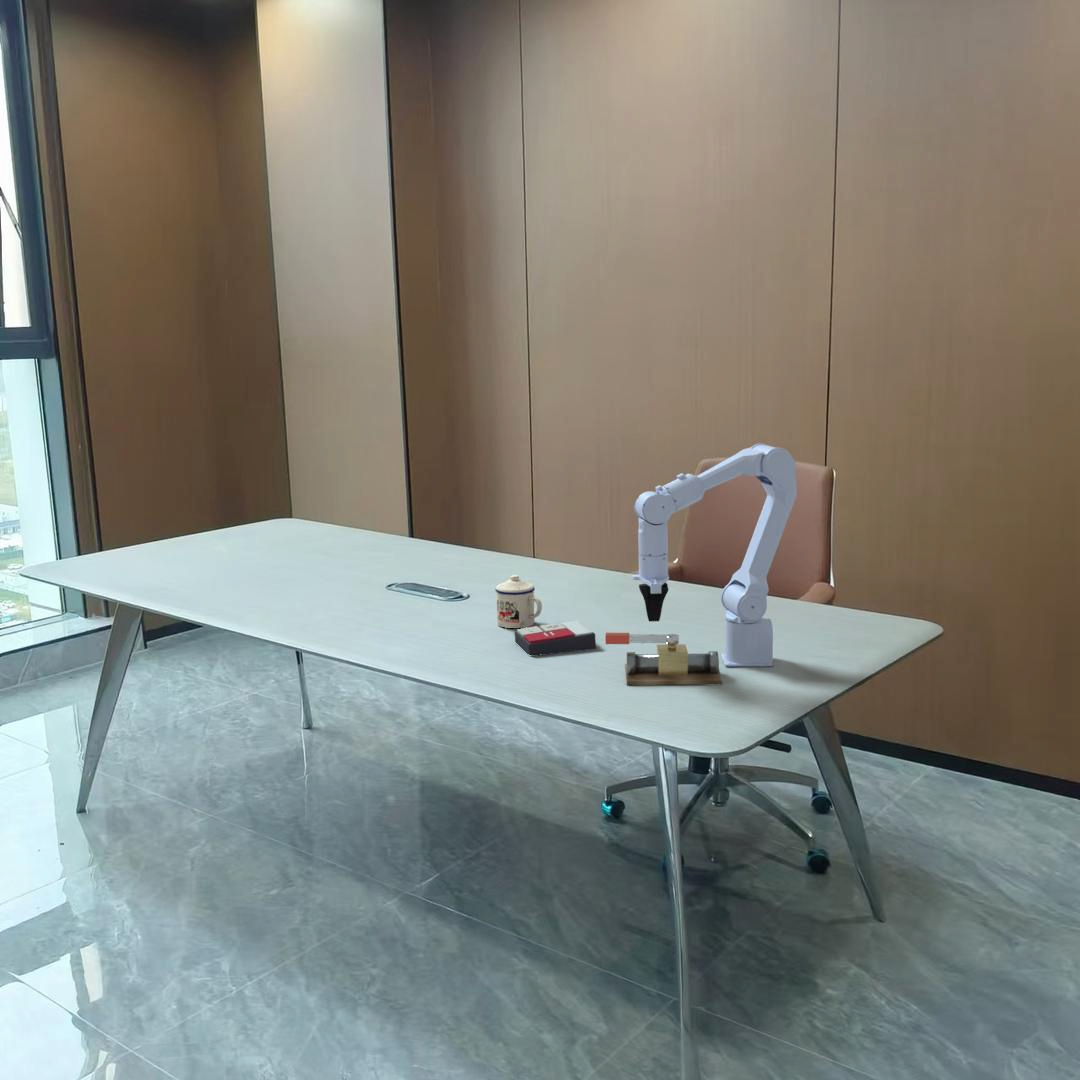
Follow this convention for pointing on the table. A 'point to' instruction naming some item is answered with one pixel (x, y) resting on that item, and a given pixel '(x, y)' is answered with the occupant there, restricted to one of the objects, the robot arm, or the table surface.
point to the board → (672, 678)
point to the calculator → (555, 638)
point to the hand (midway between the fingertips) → (653, 620)
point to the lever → (641, 638)
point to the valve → (672, 661)
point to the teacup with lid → (516, 603)
